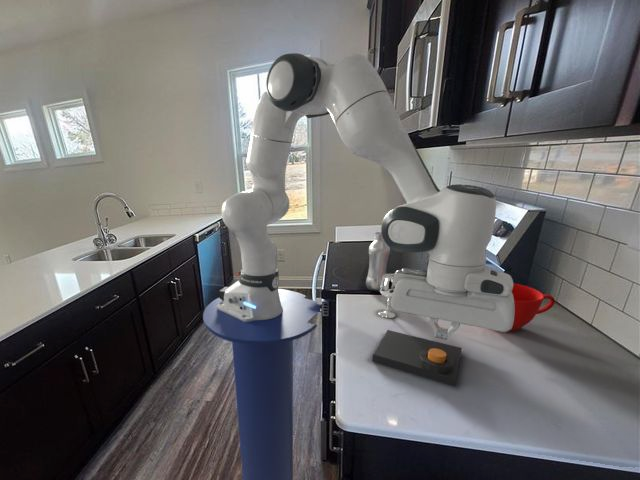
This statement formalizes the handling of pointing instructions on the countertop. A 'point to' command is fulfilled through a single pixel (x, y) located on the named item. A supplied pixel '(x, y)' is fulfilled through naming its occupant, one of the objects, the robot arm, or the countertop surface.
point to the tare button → (437, 355)
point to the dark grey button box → (417, 356)
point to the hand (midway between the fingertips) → (441, 337)
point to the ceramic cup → (527, 304)
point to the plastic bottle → (377, 262)
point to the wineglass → (387, 293)
